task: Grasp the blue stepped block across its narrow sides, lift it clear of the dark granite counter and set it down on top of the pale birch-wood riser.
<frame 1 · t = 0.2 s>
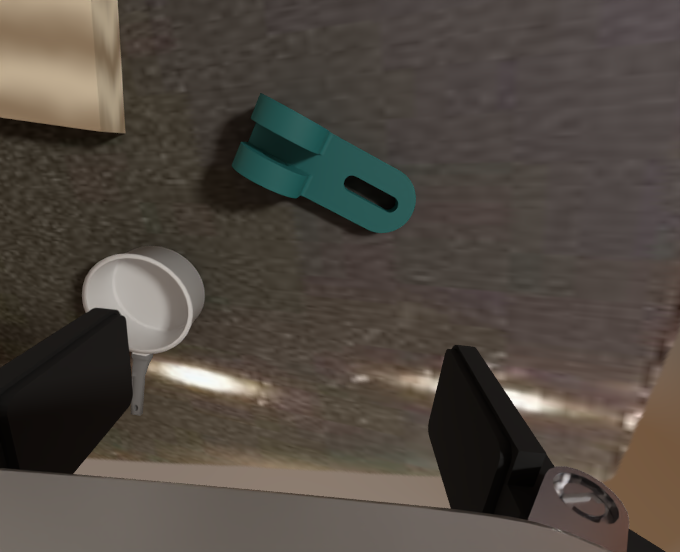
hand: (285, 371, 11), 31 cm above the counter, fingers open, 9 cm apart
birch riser: (47, 45, 35), on the counter
saucepan: (161, 318, 45), on the counter
bracket: (335, 173, 39), on the counter
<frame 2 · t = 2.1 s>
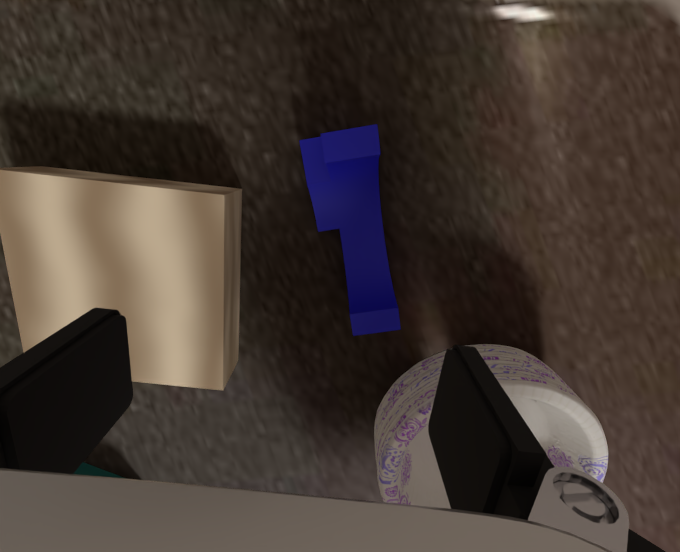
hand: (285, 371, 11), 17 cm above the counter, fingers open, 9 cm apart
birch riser: (148, 271, 28), on the counter
paper bowls: (457, 400, 31), on the counter
bracket: (90, 529, 37), on the counter
blue stepped block: (349, 222, 27), on the counter
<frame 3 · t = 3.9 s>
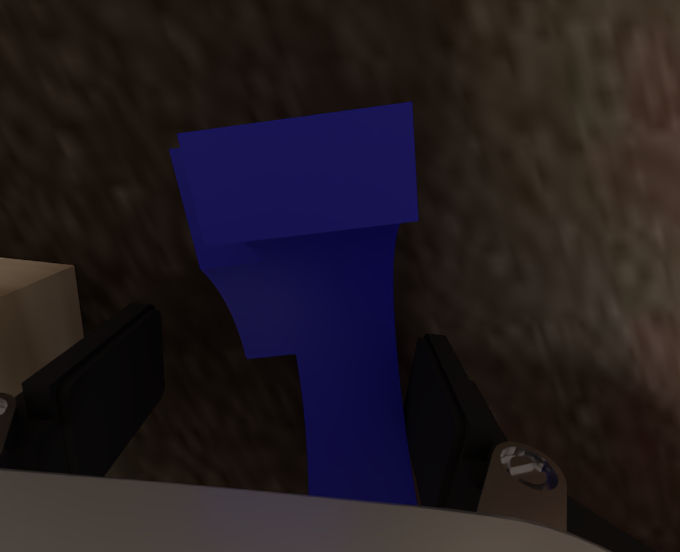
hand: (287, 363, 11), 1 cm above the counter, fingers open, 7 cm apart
blue stepped block: (323, 325, 12), on the counter, touching gripper
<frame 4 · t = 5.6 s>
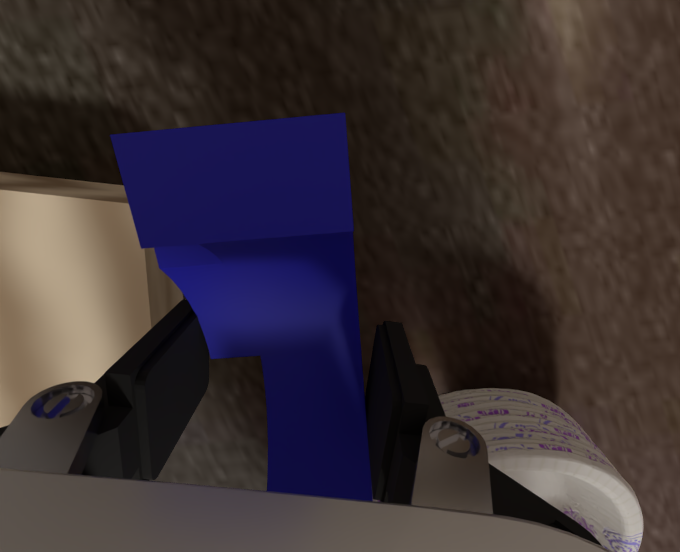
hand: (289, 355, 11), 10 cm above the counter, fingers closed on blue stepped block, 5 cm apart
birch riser: (65, 296, 22), on the counter
paper bowls: (454, 441, 27), on the counter
blue stepped block: (292, 327, 12), point 9 cm above the counter, touching gripper
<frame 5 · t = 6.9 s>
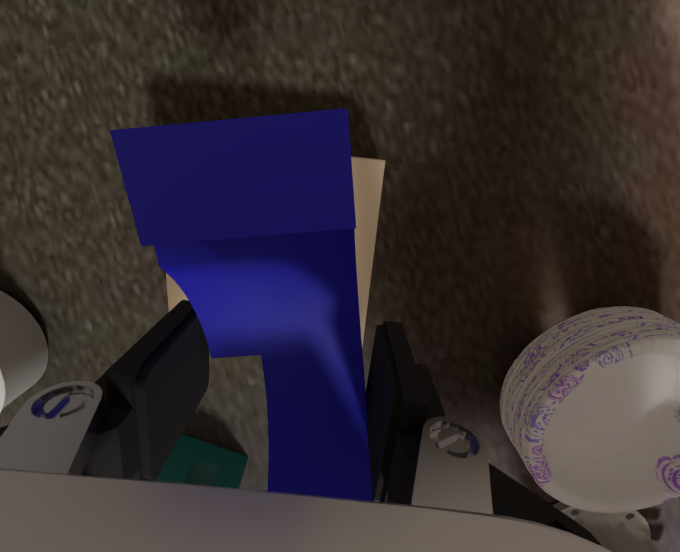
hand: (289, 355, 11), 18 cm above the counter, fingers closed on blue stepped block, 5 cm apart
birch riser: (278, 244, 28), on the counter
paper bowls: (570, 368, 32), on the counter
bracket: (191, 504, 38), on the counter
blue stepped block: (293, 326, 12), point 16 cm above the counter, touching gripper
when the fingers open (6 cm above the counter, at t = 9.7 s): blue stepped block drops 1 cm, resting on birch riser.
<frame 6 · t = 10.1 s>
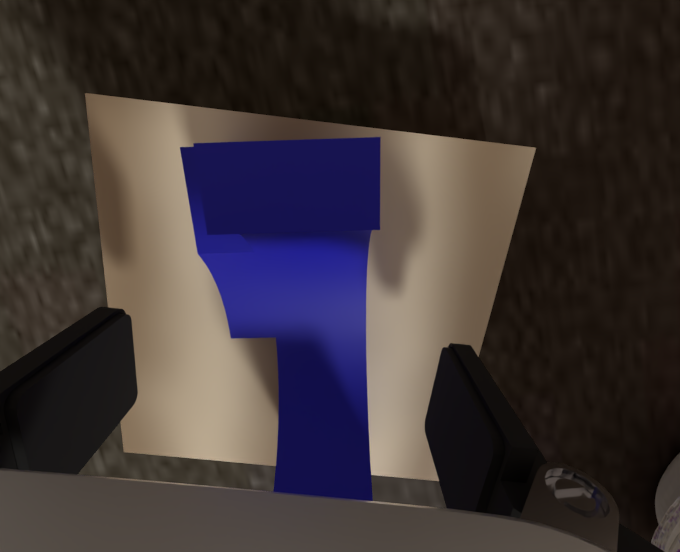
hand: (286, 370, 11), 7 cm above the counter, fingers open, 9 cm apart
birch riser: (307, 285, 17), on the counter
blue stepped block: (303, 314, 14), point 4 cm above the counter, touching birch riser
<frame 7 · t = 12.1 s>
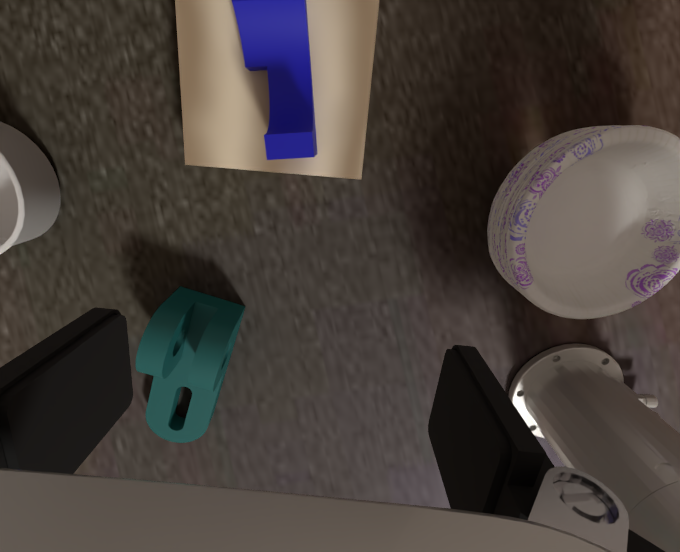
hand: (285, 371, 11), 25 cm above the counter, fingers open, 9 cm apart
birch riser: (283, 81, 30), on the counter
paper bowls: (551, 212, 35), on the counter
bracket: (195, 364, 40), on the counter
blue stepped block: (280, 69, 27), point 4 cm above the counter, touching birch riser
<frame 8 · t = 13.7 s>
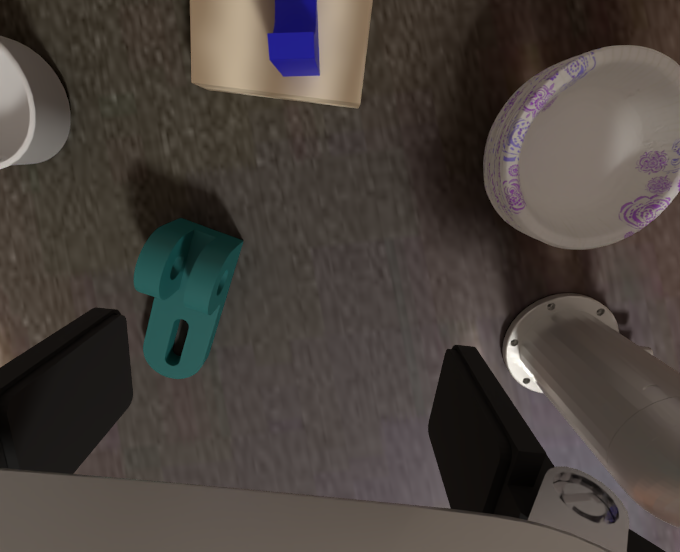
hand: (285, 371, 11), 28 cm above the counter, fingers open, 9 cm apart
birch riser: (288, 10, 32), on the counter
paper bowls: (547, 154, 36), on the counter
bracket: (193, 301, 41), on the counter
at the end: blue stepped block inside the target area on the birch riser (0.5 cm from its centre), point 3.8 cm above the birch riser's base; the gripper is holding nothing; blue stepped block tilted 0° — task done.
